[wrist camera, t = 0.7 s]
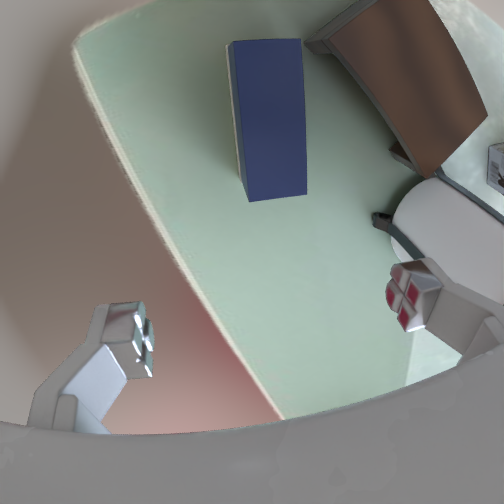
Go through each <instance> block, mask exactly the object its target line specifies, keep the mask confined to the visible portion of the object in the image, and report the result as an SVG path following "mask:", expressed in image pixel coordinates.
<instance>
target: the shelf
mask: <svg viewBox="0 0 504 504" xmlns="http://www.w3.org/2000/svg"><path fill="white" fill-rule="evenodd" d="M304 44H305V45H306V47H307V48H308V49H309V50H310V51H311V52H312V53H313V54H328V53H333V54H334V55H335V56H336V57H337V58H338V60H339V61H340V62H341V63H342V64H343V66H344V67H345V68H346V69H347V70H348V72H349V73H350V74H351V75H352V77H353V78H354V79H355V80H356V82H357V83H358V84H359V86H360V87H361V88H362V89H363V91H364V92H365V93H366V95H367V96H368V97H369V99H370V100H371V102H372V103H373V104H374V106H375V107H376V108H377V110H378V111H379V113H380V114H381V115H382V117H383V118H384V120H385V121H386V123H387V124H388V126H389V127H390V129H391V130H392V132H393V133H394V135H395V136H396V138H397V139H398V142H397V143H396V144H395V145H394V146H392V147H391V148H390V149H389V151H390V152H391V154H392V155H393V157H394V158H395V159H396V160H397V161H399V162H401V163H402V164H404V165H405V166H407V167H409V168H410V169H412V170H413V171H415V172H416V173H418V174H420V175H421V176H423V177H424V178H426V179H427V178H428V177H429V176H430V175H431V174H432V173H433V172H434V171H435V170H436V169H437V168H438V167H439V166H440V165H441V164H442V163H443V162H444V161H445V160H446V159H447V158H448V157H449V156H450V155H451V154H452V153H453V152H454V151H455V150H456V149H457V148H458V147H459V146H460V145H461V144H462V143H463V142H464V141H465V140H466V139H467V138H468V137H469V136H470V135H471V134H472V133H473V131H474V130H475V129H476V128H477V127H478V126H479V125H480V124H481V123H482V122H483V121H484V120H485V119H486V117H487V116H488V114H487V111H486V109H485V106H484V104H483V101H482V99H481V96H480V94H479V92H478V89H477V87H476V85H475V82H474V80H473V78H472V76H471V74H470V72H469V70H468V68H467V66H466V64H465V62H464V60H463V58H462V56H461V54H460V52H459V50H458V48H457V46H456V44H455V43H454V41H453V39H452V37H451V36H450V34H449V32H448V30H447V29H446V27H445V25H444V24H443V22H442V21H441V19H440V17H439V16H438V14H437V13H436V11H435V10H434V8H433V7H432V5H431V4H430V2H429V1H428V0H359V1H357V2H356V3H355V4H353V5H352V6H350V7H349V8H348V9H346V10H345V11H344V12H342V13H341V14H340V15H338V16H337V17H336V18H334V19H333V20H332V21H330V22H329V23H328V24H326V25H325V26H324V27H323V28H321V29H320V30H319V31H318V32H316V33H315V34H314V35H313V36H311V37H310V38H309V39H308V40H306V41H305V42H304Z"/></svg>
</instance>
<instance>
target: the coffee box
mask: <svg viewBox="0 0 504 504" xmlns="http://www.w3.org/2000/svg"><path fill="white" fill-rule="evenodd" d="M487 184H488V185H489V186H491V187H492V188H494V189H495V190H497V191H498V192H500V193H501V194H503V195H504V143H500V144H496V145H492V146H489V163H488V178H487Z"/></svg>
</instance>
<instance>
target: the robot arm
mask: <svg viewBox="0 0 504 504" xmlns="http://www.w3.org/2000/svg"><path fill="white" fill-rule="evenodd" d="M390 275H391V277H392V279H391V280H390V281H389V282H388V284H387V287H386V291H385V292H386V300H387V303H388V305H389V307H390V309H391V310H392V311H394V312H396V313H398V315H397V320H398V321H399V323H400V324H401V326H402V328H403V329H404V331H405V332H409V331H413V330H416V329H420V328H423V327H425V329H426V330H428V331H429V332H431V333H432V334H434V335H435V336H436V337H438V338H439V339H441V340H442V341H443V342H445V343H446V344H448V345H449V346H450V347H452V348H453V349H455V350H456V351H457V352H459V353H460V354H462V357H461V358H460V360H459V361H458V363H457V365H456V366H455V367H453V368H451V369H448V370H446V371H444V372H441V373H439V374H437V375H434V376H432V377H429V378H427V379H424V380H422V381H419V382H416V383H414V384H411V385H408V386H406V387H403V388H400V389H397V390H394V391H391V392H389V393H386V394H383V395H379V396H376V397H373V398H370V399H367V400H363V401H360V402H357V403H353V404H350V405H346V406H342V407H339V408H335V409H331V410H327V411H323V412H319V413H315V414H310V415H306V416H301V417H297V418H292V419H287V420H282V421H277V422H271V423H265V424H259V425H253V426H246V427H239V428H231V429H223V430H214V431H203V432H190V433H175V434H144V435H128V434H127V435H126V434H125V435H124V434H123V435H122V434H112V433H111V432H110V431H109V430H108V429H107V428H106V427H105V426H104V425H103V424H102V423H101V420H102V419H103V417H104V416H105V414H106V413H107V411H108V410H109V408H110V406H111V405H112V403H113V402H114V400H115V399H116V397H117V396H118V394H119V393H120V391H121V389H122V388H123V386H124V385H125V384H126V382H127V379H140V378H151V377H152V373H153V372H152V371H153V358H152V357H151V354H150V353H151V352H152V351H153V350H154V342H155V341H154V332H153V328H152V324H151V322H150V320H149V319H147V318H146V317H145V315H146V309H145V307H144V304H143V303H142V302H141V301H137V302H125V303H112V304H104V305H97V306H96V307H95V308H94V312H93V315H92V319H91V322H90V325H89V329H88V332H87V336H86V340H85V343H84V344H80V345H79V346H78V347H77V348H76V349H75V350H74V351H73V352H72V353H71V354H70V355H69V356H68V357H67V358H66V359H65V360H64V361H63V362H62V363H61V365H59V367H58V368H57V369H56V370H55V371H54V372H53V373H52V374H51V375H50V376H49V377H48V378H47V379H46V380H45V381H44V382H43V383H42V384H41V385H40V386H39V387H38V389H37V390H36V391H35V393H34V397H33V401H32V405H31V409H30V413H29V417H28V421H27V426H24V425H18V424H12V423H8V422H3V421H0V504H504V306H503V305H501V304H499V303H497V302H495V301H493V300H491V299H489V298H487V297H485V296H483V295H481V294H479V293H477V292H475V291H473V290H471V289H469V288H467V287H465V286H463V285H461V284H459V283H457V284H455V283H454V282H453V281H452V280H451V279H450V278H449V276H448V275H447V274H446V273H445V272H444V271H443V270H442V269H441V267H440V266H439V265H438V264H437V263H436V262H435V261H434V260H433V259H432V258H430V257H426V258H421V259H417V260H413V261H408V262H402V263H397V264H394V265H393V266H392V268H391V272H390Z"/></svg>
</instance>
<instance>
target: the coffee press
mask: <svg viewBox="0 0 504 504" xmlns="http://www.w3.org/2000/svg"><path fill="white" fill-rule="evenodd" d="M435 173H436V174H437V176H438V177H436V176H435ZM372 225H373V226H374V227H375V228H377V229H380V230H383V231H385V232H387V233H389V234H390V235H391V243H392V247H393V249H394V252H395V253H396V255H397V256H398V258H399V259H400V260H401V261H402V262H408V261H413V260H417V259H421V258H426V257H430V258H432V259H433V260H434V261H435V262H436V263H437V264H438V265H439V266H440V267H441V269H442V270H443V271H444V272H445V273H446V274H447V275H448V276H449V278H450V279H451V280H452V281H453V282H454V283H455V284H457V283H459V284H461V285H463V286H465V287H467V288H469V289H471V290H473V291H475V292H477V293H479V294H481V295H483V296H485V297H487V298H489V299H491V300H493V301H495V302H497V303H499V304H501V305H503V306H504V216H503V215H502V214H500V213H499V212H498V211H496V210H495V209H494V208H492V207H491V206H489V205H488V204H487V203H485V202H484V201H483V200H481V199H480V198H478V197H477V196H475V195H474V194H473V193H471V192H470V191H468V190H467V189H465V188H464V187H462V186H461V185H459V184H458V183H456V182H455V181H453V180H452V179H450V178H449V177H447V176H446V175H445V173H444V171H443V170H442V168H441V165H440V166H439V167H438V168H437V169H436V170H435V172H433V173H432V174H431V175H430V176H429V177H428V179H427V180H425V181H422V182H421V183H419V184H417V185H416V186H415V187H413V188H412V189H411V190H410V191H409V192H408V193H407V194H406V196H405V197H404V198H403V199H402V201H401V202H400V204H399V206H398V208H397V210H396V212H395V214H394V215H388V214H384V213H379V212H377V213H374V217H373V224H372Z"/></svg>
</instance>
